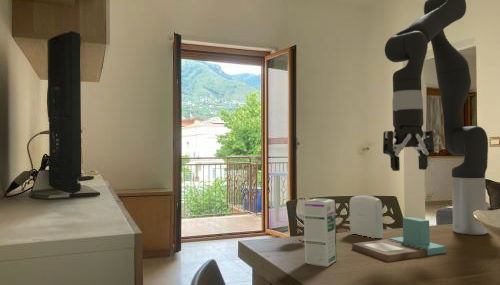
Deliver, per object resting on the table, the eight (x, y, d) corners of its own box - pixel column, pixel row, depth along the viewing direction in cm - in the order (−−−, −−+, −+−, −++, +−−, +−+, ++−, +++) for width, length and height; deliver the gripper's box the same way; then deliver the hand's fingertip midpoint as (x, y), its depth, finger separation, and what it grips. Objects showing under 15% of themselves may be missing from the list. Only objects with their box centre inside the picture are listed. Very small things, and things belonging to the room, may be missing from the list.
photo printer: (347, 234, 121) (347, 194, 122) (356, 232, 124) (355, 193, 124) (377, 240, 113) (376, 197, 114) (385, 238, 116) (384, 196, 116)
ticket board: (388, 245, 107) (388, 238, 107) (426, 256, 95) (426, 249, 95) (352, 249, 103) (352, 242, 103) (387, 262, 91) (387, 254, 91)
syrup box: (328, 267, 87) (327, 201, 88) (303, 263, 90) (303, 200, 91) (337, 261, 92) (336, 199, 92) (313, 257, 95) (312, 197, 96)
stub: (406, 242, 110) (405, 214, 110) (445, 252, 98) (445, 222, 98) (389, 244, 108) (389, 216, 108) (427, 255, 96) (427, 224, 96)
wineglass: (294, 241, 112) (293, 199, 113) (299, 237, 118) (299, 197, 118) (314, 243, 110) (313, 200, 111) (318, 239, 116) (318, 198, 116)
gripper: (419, 110, 110) (421, 168, 109) (375, 110, 105) (377, 170, 105) (440, 107, 102) (442, 169, 102) (394, 107, 98) (395, 171, 98)
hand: (409, 170), depth 104 cm, fingers open, 8 cm apart
